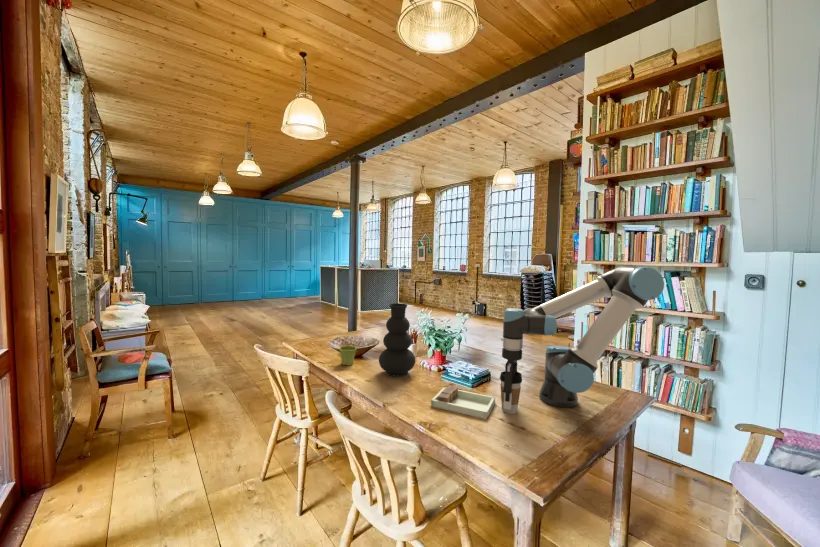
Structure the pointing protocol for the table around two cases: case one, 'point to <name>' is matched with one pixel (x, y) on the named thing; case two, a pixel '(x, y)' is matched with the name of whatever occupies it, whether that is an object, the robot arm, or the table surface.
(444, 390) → the walnut block
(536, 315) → the robot arm
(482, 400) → the tray
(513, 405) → the coffee cup
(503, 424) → the table surface
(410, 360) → the vase
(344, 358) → the plant pot
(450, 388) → the walnut block
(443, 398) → the walnut block
